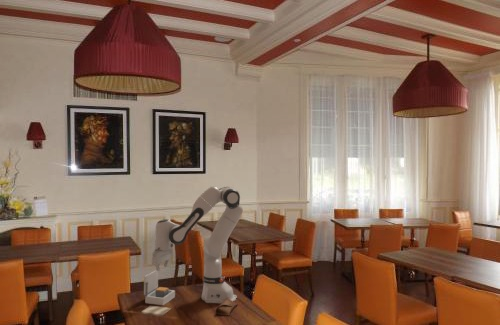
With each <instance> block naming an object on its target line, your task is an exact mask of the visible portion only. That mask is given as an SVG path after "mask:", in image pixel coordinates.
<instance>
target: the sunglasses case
mask: <svg viewBox="0 0 500 325" xmlns="http://www.w3.org/2000/svg"><path fill="white" fill-rule="evenodd" d="M236 305H237V306H238V305H239V304H238V303H236V302H235V301H234V302H233V301H231V300H229V299H228V298H226V299H225V300H224V301H223V302H222V303H219V305H218V307H216V309H215V314H216V315H220V316H227V315H228V316H230V314H231V313H232V311H233V310H234V309H235V308H236V307H237V306H236ZM235 306H236V307H235Z"/></svg>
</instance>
